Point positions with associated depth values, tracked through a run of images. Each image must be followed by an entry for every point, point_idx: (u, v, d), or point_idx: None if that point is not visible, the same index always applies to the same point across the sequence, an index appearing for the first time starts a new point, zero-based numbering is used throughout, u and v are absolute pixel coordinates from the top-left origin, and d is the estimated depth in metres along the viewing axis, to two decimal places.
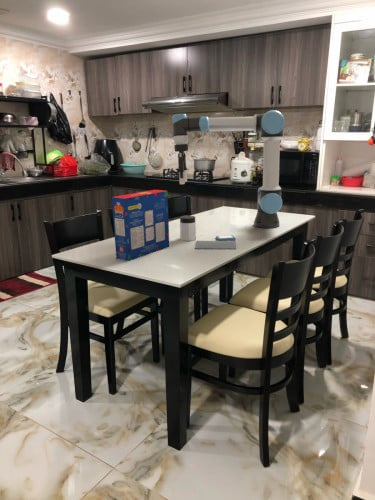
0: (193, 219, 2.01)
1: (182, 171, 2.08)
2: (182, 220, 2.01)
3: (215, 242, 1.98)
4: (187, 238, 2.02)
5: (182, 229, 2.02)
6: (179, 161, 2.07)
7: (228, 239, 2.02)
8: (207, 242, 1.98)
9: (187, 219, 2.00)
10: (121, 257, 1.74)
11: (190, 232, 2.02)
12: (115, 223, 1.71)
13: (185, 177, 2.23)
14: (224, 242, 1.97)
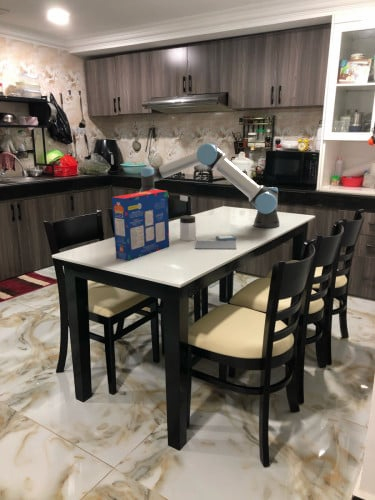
0: (193, 219, 2.01)
1: None
2: (182, 220, 2.01)
3: (215, 242, 1.98)
4: (187, 238, 2.02)
5: (182, 229, 2.02)
6: None
7: (228, 239, 2.02)
8: (207, 242, 1.98)
9: (187, 219, 2.00)
10: (121, 257, 1.74)
11: (190, 232, 2.02)
12: (115, 223, 1.71)
13: (183, 197, 2.14)
14: (224, 242, 1.97)
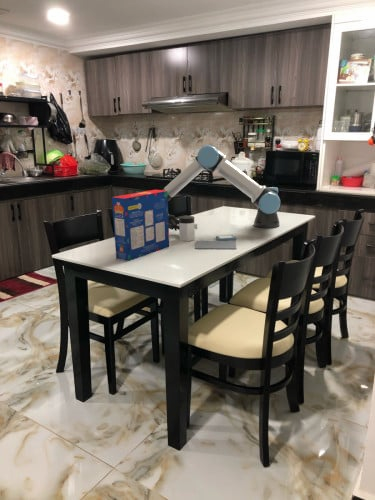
0: (192, 219, 2.00)
1: (174, 225, 2.05)
2: (181, 220, 2.00)
3: (215, 242, 1.98)
4: (186, 238, 2.02)
5: (181, 229, 2.02)
6: None
7: (228, 239, 2.02)
8: (207, 242, 1.98)
9: (186, 219, 1.99)
10: (121, 257, 1.74)
11: (189, 232, 2.01)
12: (115, 223, 1.71)
13: None
14: (224, 242, 1.97)
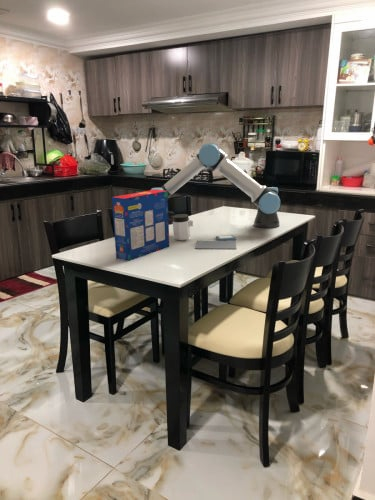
0: (184, 218, 1.98)
1: None
2: (173, 219, 2.00)
3: (215, 242, 1.98)
4: (178, 237, 2.01)
5: (174, 228, 2.01)
6: (170, 222, 2.09)
7: (228, 239, 2.02)
8: (207, 242, 1.98)
9: (177, 218, 1.98)
10: (121, 257, 1.74)
11: (181, 231, 2.00)
12: (115, 223, 1.71)
13: None
14: (224, 242, 1.97)
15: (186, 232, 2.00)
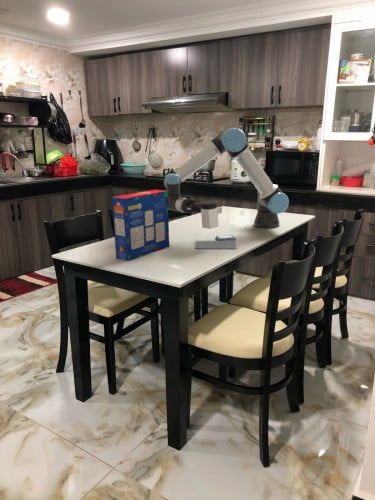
0: (214, 205, 1.82)
1: None
2: (202, 206, 1.84)
3: (215, 242, 1.98)
4: (208, 225, 1.85)
5: (203, 216, 1.85)
6: (195, 210, 1.92)
7: (228, 239, 2.02)
8: (207, 242, 1.98)
9: (207, 205, 1.82)
10: (121, 257, 1.74)
11: (211, 219, 1.84)
12: (115, 223, 1.71)
13: None
14: (224, 242, 1.97)
15: (216, 220, 1.85)
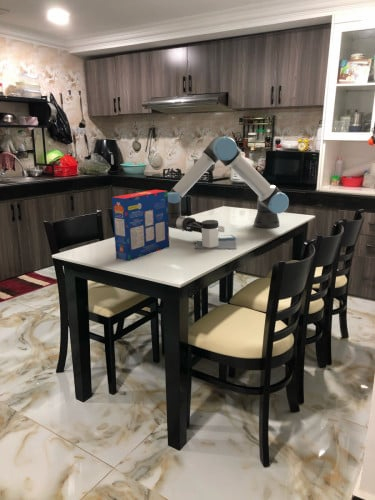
0: (215, 224, 1.85)
1: None
2: (203, 225, 1.86)
3: None
4: (208, 245, 1.88)
5: (203, 235, 1.88)
6: (193, 230, 1.94)
7: (228, 239, 2.02)
8: None
9: (208, 224, 1.84)
10: (121, 257, 1.74)
11: (211, 238, 1.86)
12: (115, 223, 1.71)
13: (219, 227, 1.93)
14: (224, 242, 1.97)
15: (216, 239, 1.88)
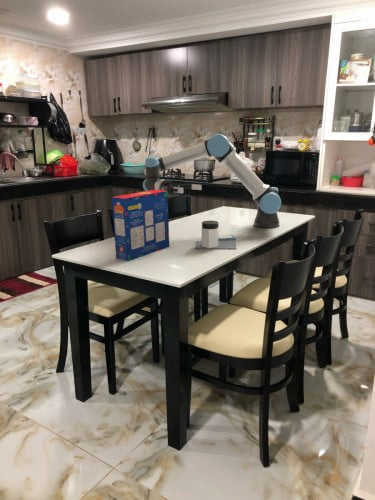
0: (215, 225, 1.85)
1: (171, 188, 2.00)
2: (203, 225, 1.86)
3: None
4: (207, 245, 1.87)
5: (203, 235, 1.88)
6: (165, 190, 2.04)
7: (228, 239, 2.02)
8: None
9: (207, 224, 1.85)
10: (121, 257, 1.74)
11: (211, 239, 1.86)
12: (115, 223, 1.71)
13: (197, 186, 2.07)
14: (224, 242, 1.97)
15: (216, 240, 1.87)
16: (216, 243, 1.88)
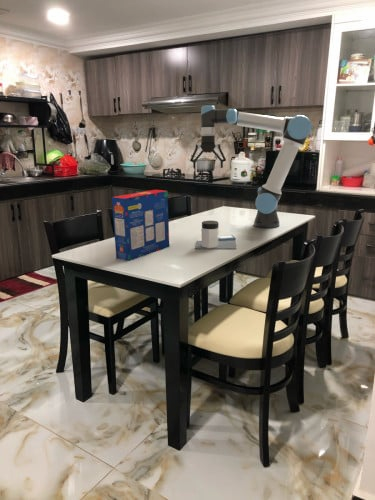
0: (215, 225, 1.85)
1: (193, 162, 2.19)
2: (203, 225, 1.86)
3: None
4: (207, 245, 1.87)
5: (203, 235, 1.88)
6: None
7: (228, 239, 2.02)
8: None
9: (207, 224, 1.85)
10: (121, 257, 1.74)
11: (211, 239, 1.86)
12: (115, 223, 1.71)
13: (219, 169, 2.19)
14: (224, 242, 1.97)
15: (216, 240, 1.87)
16: (216, 243, 1.88)
